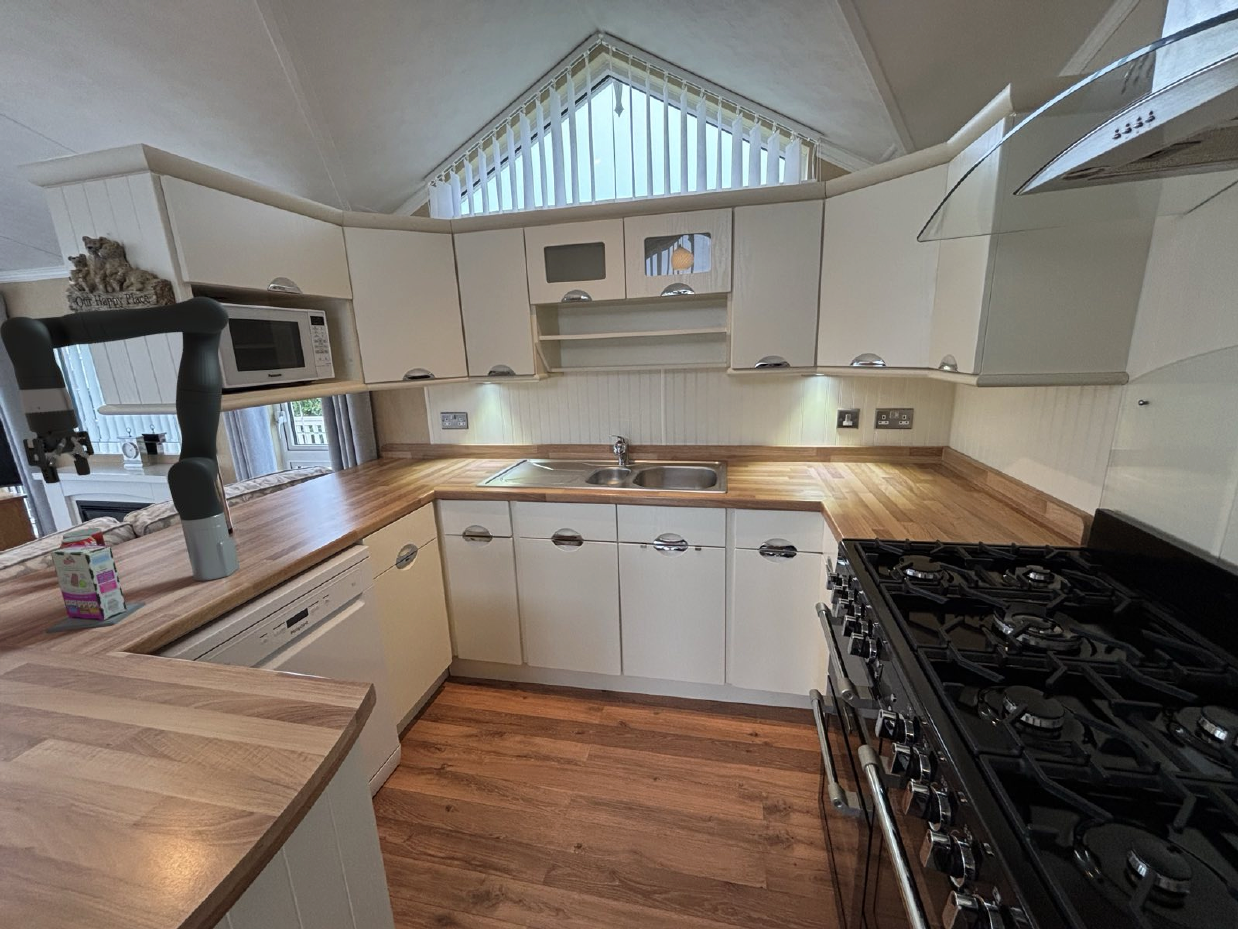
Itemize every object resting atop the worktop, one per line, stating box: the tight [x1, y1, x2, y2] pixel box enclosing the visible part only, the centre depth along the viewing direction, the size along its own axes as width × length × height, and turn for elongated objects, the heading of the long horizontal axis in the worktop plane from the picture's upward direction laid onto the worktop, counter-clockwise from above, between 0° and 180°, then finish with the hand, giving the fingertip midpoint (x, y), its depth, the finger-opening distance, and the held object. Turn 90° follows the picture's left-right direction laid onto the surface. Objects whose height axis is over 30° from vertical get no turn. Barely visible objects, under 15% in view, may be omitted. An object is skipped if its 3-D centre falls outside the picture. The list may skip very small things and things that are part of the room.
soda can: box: [59, 535, 97, 549], centre depth 138 cm, size 7×7×12 cm
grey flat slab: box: [44, 601, 147, 633], centre depth 116 cm, size 13×10×1 cm
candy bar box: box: [49, 545, 127, 620], centre depth 114 cm, size 11×5×16 cm, turn 78°
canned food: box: [62, 527, 106, 546], centre depth 147 cm, size 8×8×11 cm
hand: (69, 478), depth 115 cm, fingers open, 8 cm apart
